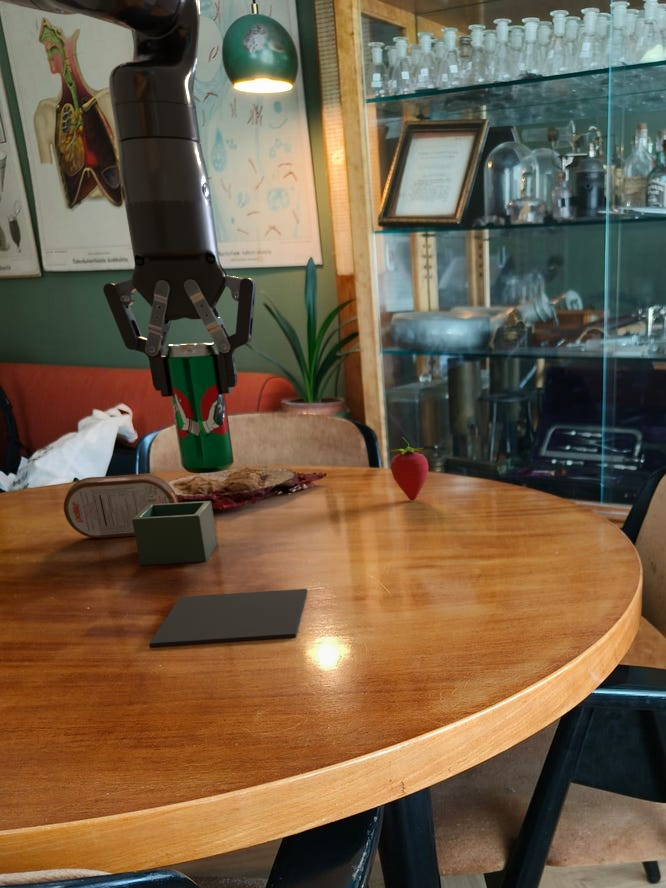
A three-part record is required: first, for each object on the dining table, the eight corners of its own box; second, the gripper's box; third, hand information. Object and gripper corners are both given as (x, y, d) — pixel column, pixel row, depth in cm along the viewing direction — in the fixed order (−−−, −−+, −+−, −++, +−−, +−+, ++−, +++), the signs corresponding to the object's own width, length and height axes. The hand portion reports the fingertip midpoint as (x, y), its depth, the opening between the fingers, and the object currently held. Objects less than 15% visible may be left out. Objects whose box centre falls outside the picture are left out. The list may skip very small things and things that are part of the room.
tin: (182, 528, 129) (173, 470, 125) (180, 533, 126) (170, 474, 123) (73, 537, 126) (60, 478, 123) (68, 543, 123) (55, 483, 120)
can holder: (140, 565, 111) (131, 519, 109) (155, 547, 119) (148, 504, 117) (206, 561, 112) (199, 515, 110) (217, 544, 120) (211, 500, 117)
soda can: (236, 463, 91) (220, 341, 87) (232, 472, 87) (214, 344, 82) (186, 466, 91) (166, 343, 86) (179, 475, 86) (158, 346, 82)
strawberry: (396, 507, 136) (391, 442, 132) (390, 497, 143) (385, 434, 139) (434, 504, 137) (430, 439, 134) (426, 494, 144) (422, 432, 140)
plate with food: (329, 484, 155) (327, 464, 154) (230, 513, 134) (227, 491, 133) (225, 477, 166) (223, 459, 164) (117, 504, 144) (114, 483, 143)
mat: (149, 647, 85) (148, 643, 85) (180, 600, 98) (179, 596, 98) (295, 637, 86) (295, 633, 86) (307, 591, 99) (307, 588, 99)
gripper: (254, 202, 84) (276, 387, 90) (98, 206, 83) (131, 393, 89) (243, 194, 77) (267, 395, 83) (73, 199, 76) (110, 402, 82)
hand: (197, 393), depth 86 cm, fingers closed on soda can, 5 cm apart
